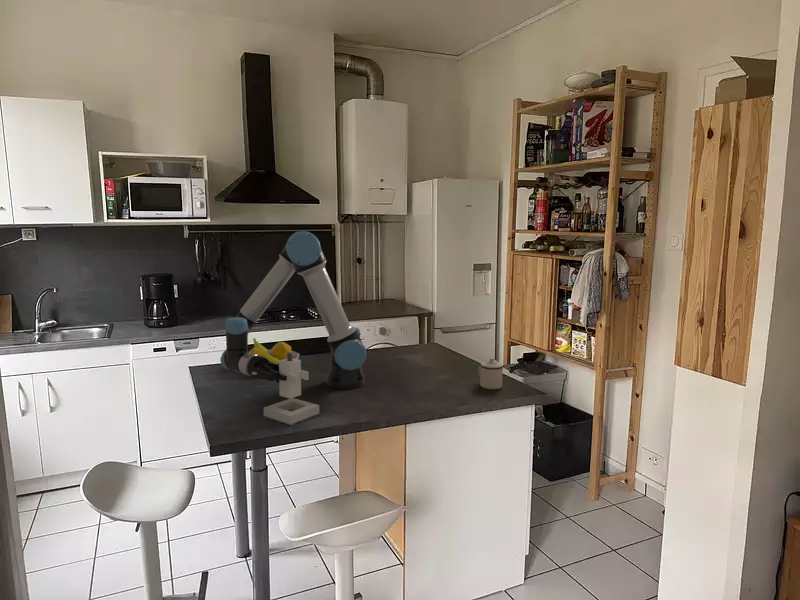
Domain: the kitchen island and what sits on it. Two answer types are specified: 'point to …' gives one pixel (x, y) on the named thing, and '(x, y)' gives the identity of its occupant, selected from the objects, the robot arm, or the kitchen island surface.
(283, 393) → the plug
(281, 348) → the fruit bowl
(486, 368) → the teacup with lid
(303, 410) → the socket
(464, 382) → the kitchen island surface
